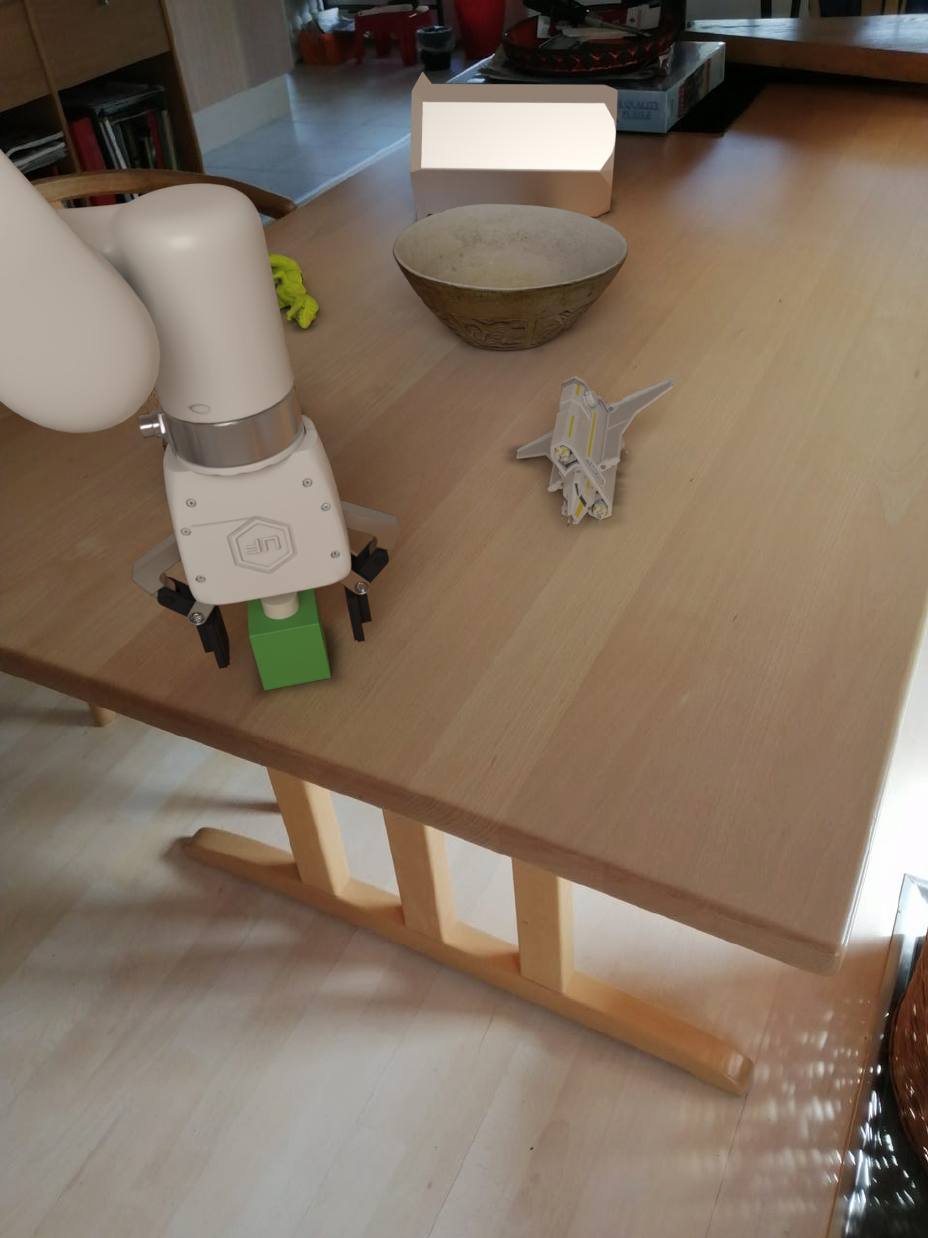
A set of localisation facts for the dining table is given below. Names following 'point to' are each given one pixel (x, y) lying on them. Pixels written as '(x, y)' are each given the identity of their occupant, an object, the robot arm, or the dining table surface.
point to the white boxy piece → (512, 146)
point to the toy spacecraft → (589, 445)
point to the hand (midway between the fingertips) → (291, 641)
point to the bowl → (509, 270)
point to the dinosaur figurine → (292, 290)
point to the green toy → (288, 639)
